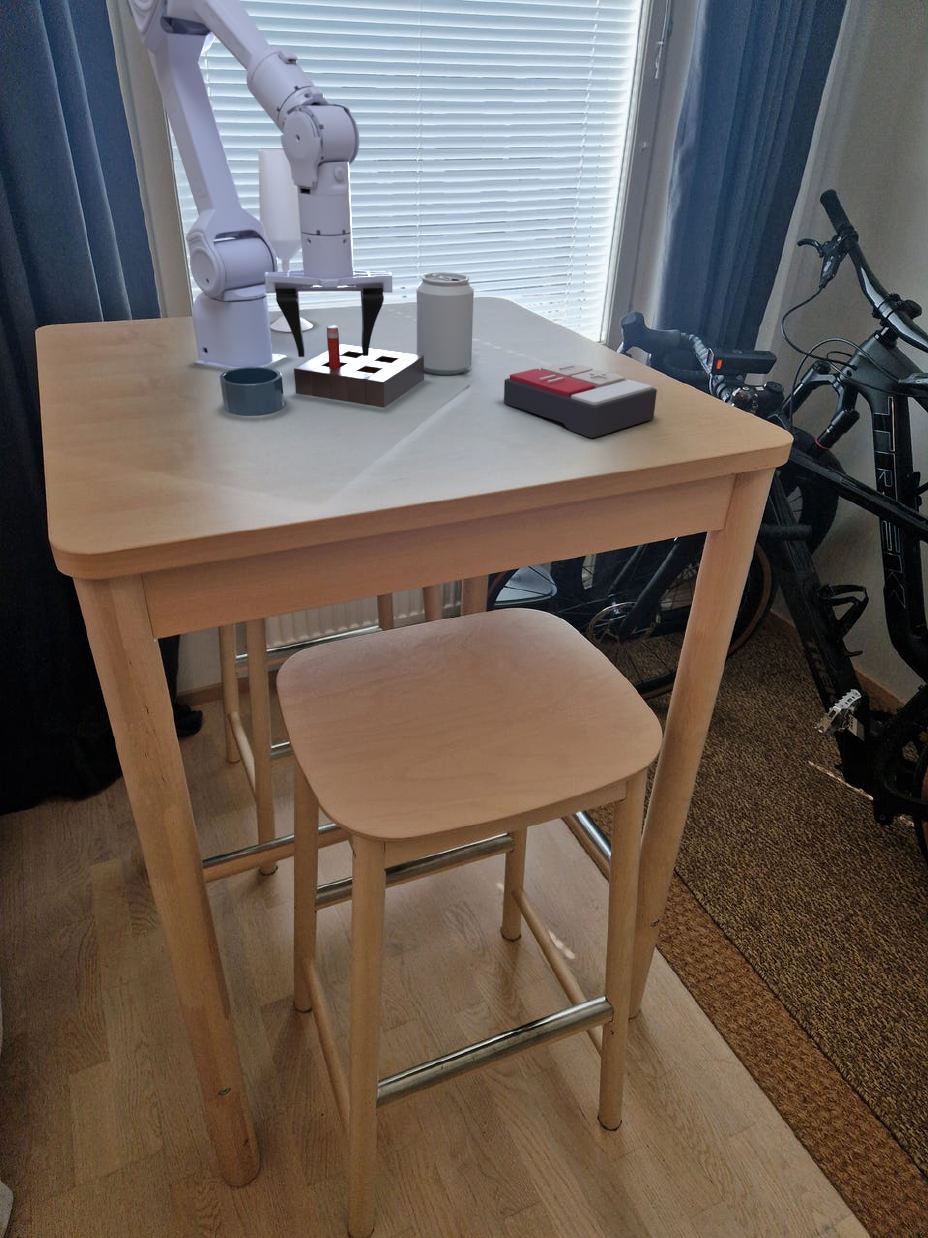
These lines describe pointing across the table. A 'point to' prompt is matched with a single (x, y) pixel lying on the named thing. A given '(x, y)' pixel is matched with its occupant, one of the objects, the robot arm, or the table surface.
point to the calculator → (581, 398)
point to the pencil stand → (360, 376)
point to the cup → (252, 391)
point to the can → (445, 322)
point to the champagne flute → (280, 214)
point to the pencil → (333, 346)
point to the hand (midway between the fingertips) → (333, 354)
